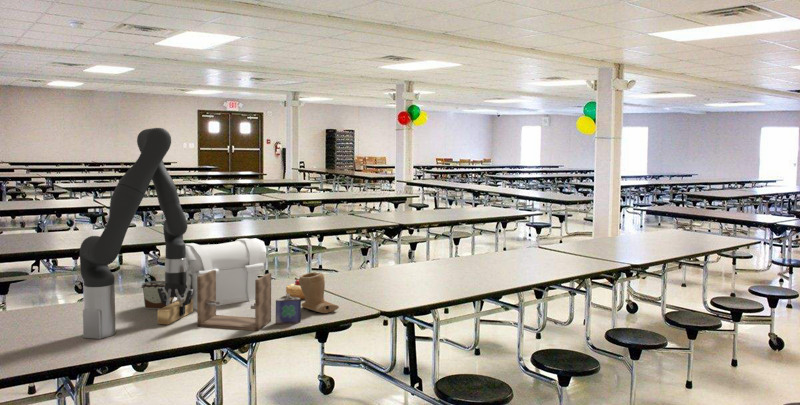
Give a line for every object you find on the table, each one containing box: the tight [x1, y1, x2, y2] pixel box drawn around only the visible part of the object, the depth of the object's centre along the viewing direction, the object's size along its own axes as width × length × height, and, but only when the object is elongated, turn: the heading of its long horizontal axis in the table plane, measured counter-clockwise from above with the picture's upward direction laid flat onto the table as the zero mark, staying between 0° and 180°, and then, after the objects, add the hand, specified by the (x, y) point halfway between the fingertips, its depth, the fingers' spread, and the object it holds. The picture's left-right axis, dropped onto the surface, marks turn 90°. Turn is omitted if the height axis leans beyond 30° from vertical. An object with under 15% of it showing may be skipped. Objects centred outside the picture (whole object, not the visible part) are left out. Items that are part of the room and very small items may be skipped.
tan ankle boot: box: [298, 271, 340, 314], centre depth 241 cm, size 15×12×15 cm
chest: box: [176, 238, 267, 310], centre depth 253 cm, size 35×23×25 cm, turn 133°
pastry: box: [285, 278, 305, 300], centre depth 262 cm, size 12×12×9 cm
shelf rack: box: [196, 270, 272, 332], centre depth 219 cm, size 12×23×18 cm, turn 81°
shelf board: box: [157, 298, 194, 326], centre depth 225 cm, size 18×4×5 cm, turn 171°
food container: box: [140, 280, 168, 310], centre depth 240 cm, size 12×6×10 cm, turn 84°
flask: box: [275, 293, 302, 325], centre depth 223 cm, size 9×3×11 cm, turn 109°
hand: (176, 315), depth 226 cm, fingers closed on shelf board, 4 cm apart
